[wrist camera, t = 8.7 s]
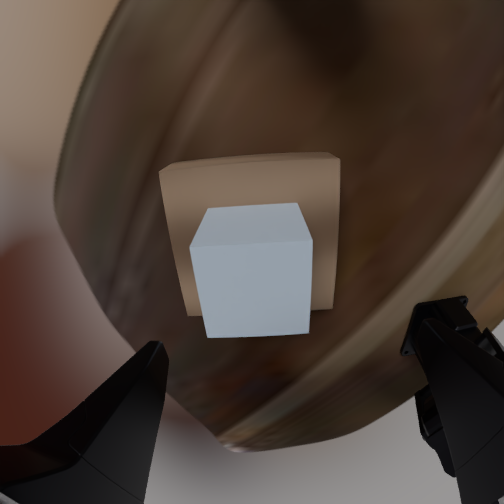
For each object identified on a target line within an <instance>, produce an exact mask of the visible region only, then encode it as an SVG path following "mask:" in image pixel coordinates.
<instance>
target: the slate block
mask: <svg viewBox="0 0 504 504" xmlns="http://www.w3.org/2000/svg"><path fill="white" fill-rule="evenodd" d="M189 248H190V254H191V259H192V265H193V270H194V275H195V280H196V285H197V290H198V295H199V300H200V305H201V310H202V314H203V319H204V323H205V328H206V332H207V337H208V338H220V337H255V336H275V335H291V334H305V333H309V322H310V304H311V282H312V252H313V240H312V237H311V235H310V232H309V230H308V227H307V225H306V222H305V220H304V218H303V215H302V213H301V210H300V208H299V206H298V203H283V204H264V205H248V206H233V207H219V208H208V209H207V211H206V213H205V215H204V217H203V220H202V222H201V224H200V226H199V228H198V230H197V232H196V234H195V236H194V238H193V241H192V243H191V245H190V247H189Z"/></svg>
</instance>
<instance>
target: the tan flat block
mask: <svg viewBox="0 0 504 504" xmlns="http://www.w3.org/2000/svg"><path fill="white" fill-rule="evenodd" d="M159 178H160V184H161V190H162V196H163V202H164V207H165V213H166V218H167V224H168V229H169V234H170V239H171V244H172V249H173V254H174V259H175V263H176V268H177V272H178V277H179V281H180V285H181V290H182V294H183V298H184V302H185V306H186V310H187V314H188V316H203V314H202V310H201V305H200V300H199V295H198V290H197V285H196V280H195V275H194V270H193V265H192V259H191V254H190V248H189V247H190V245H191V243H192V241H193V238H194V236H195V234H196V232H197V230H198V228H199V226H200V224H201V222H202V220H203V217H204V215H205V213H206V211H207V209H208V208H219V207H233V206H248V205H264V204H283V203H298V206H299V208H300V210H301V213H302V215H303V218H304V220H305V222H306V225H307V227H308V230H309V232H310V235H311V237H312V240H313V252H312V282H311V304H310V310H322V309H332V308H333V298H334V288H335V276H336V263H337V248H338V230H339V205H340V159H339V158H337V157H335V156H334V155H332V154H330V153H329V152H298V153H274V154H256V155H242V156H230V157H219V158H209V159H200V160H191V161H183V162H175V163H172V164H170V165H169V166H167V167H166V168H164V169H163V170H161V171H159Z"/></svg>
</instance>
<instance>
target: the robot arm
mask: <svg viewBox="0 0 504 504" xmlns="http://www.w3.org/2000/svg"><path fill="white" fill-rule="evenodd" d="M467 303H468V298H467V297H466V296H459V297H453V298H447V299H441V300H435V301H429V302H422V303H418V304H417V305H416V306H415V308H414V311H413V315H412V318H411V321H410V325H409V328H408V331H407V334H406V337H405V340H404V343H403V346H402V349H401V354H402V356H407V355H412V354H416V356H417V358H418V360H419V362H420V364H421V366H422V368H423V370H424V372H425V374H426V377H427V380H428V383H429V384H428V385H426V386H425V387H424V388H423V389H421V390H419V391H417V392H416V393H415V394H414V395H415V400H416V408H417V414H418V420H419V427H420V433H421V435H422V438H423V439H424V440H425V441H426V442H427V443H428V445H429V446H430V447H431V448H432V449H434V450H435V451H436V452H437V454H438V456H439V459H440V461H441V464H442V466H443V468H444V471H445V472H446V473H447V474H449V475H450V476H452V477H456V478H457V483H458V488H459V492H460V498H461V503H462V504H504V347H503V346H502V344H501V343H500V342H499V340H498V339H497V338H496V337H495V336H494V335H493V334H492V332H491V331H490V330H489V329H488V328H487V327H486V328H485V330H484V331H483V333H481V332H480V330H479V329H478V328H477V325H478V323H477V321H476V320H475V319H474V318H473V316H472V315H471V314H470V312H469V311H468V310H467V309H466V306H467ZM168 367H169V358H168V355H167V353H166V350H165V348H164V345H163V343H162V342H161V341H149V342H148V343H147V344H146V345H145V346H144V347H142V348H141V349H140V350H139V351H138V352H137V353H136V354H135V355H134V356H132V357H131V358H130V359H129V360H128V361H127V362H126V363H125V364H124V365H122V366H121V367H120V368H119V369H118V370H117V371H116V372H115V373H114V374H112V375H111V376H110V377H109V378H108V379H107V380H106V381H105V382H104V383H102V384H101V385H100V386H99V387H98V388H97V389H96V390H95V391H94V392H92V393H91V394H90V395H89V396H88V397H87V398H86V399H85V401H82V402H81V403H80V404H79V405H78V406H77V407H76V408H75V409H73V410H72V411H71V412H70V413H69V414H68V415H67V416H65V417H64V418H62V419H61V420H60V421H59V422H57V423H56V424H55V425H53V426H52V427H50V428H49V429H48V430H46V431H45V432H44V433H42V434H41V435H40V436H38V437H37V438H35V439H34V440H32V441H30V442H28V443H25V444H21V445H6V446H0V504H144V499H145V493H146V487H147V482H148V477H149V471H150V467H151V462H152V457H153V452H154V447H155V442H156V437H157V433H158V428H159V423H160V419H161V414H162V410H163V406H164V401H165V393H166V384H167V375H168Z"/></svg>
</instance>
